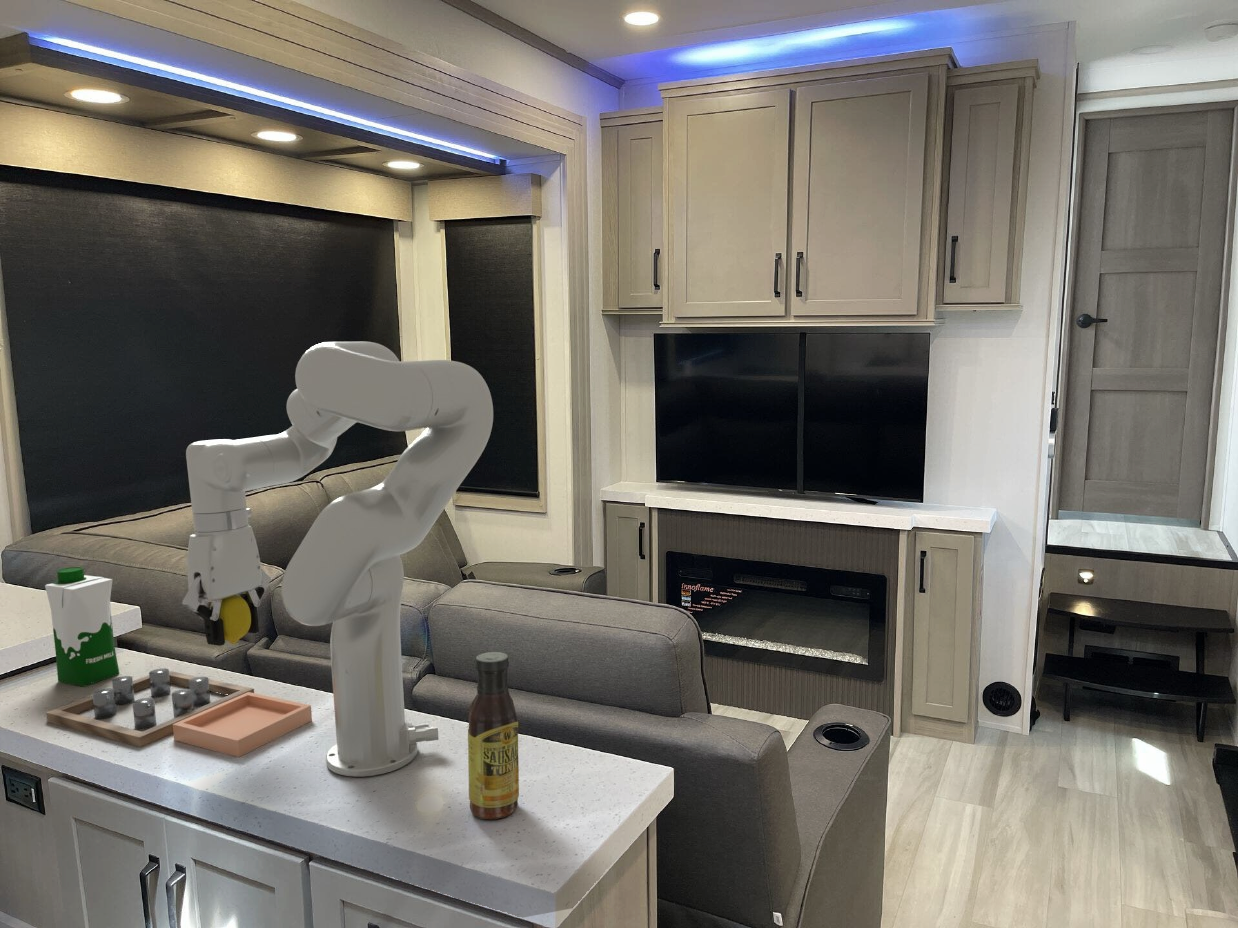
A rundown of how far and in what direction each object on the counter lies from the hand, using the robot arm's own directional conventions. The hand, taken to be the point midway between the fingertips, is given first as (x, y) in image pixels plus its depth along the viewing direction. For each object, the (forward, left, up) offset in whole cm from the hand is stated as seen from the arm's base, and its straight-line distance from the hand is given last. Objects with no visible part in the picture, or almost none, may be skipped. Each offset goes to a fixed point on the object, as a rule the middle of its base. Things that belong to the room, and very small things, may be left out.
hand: (233, 636), depth 138 cm
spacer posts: (+15, -13, -15) cm, 25 cm away
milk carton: (+30, -33, -15) cm, 47 cm away
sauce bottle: (-35, +37, -15) cm, 53 cm away
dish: (-1, +1, -15) cm, 15 cm away
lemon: (0, 0, -1) cm, 1 cm away
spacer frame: (+15, -13, -15) cm, 25 cm away
